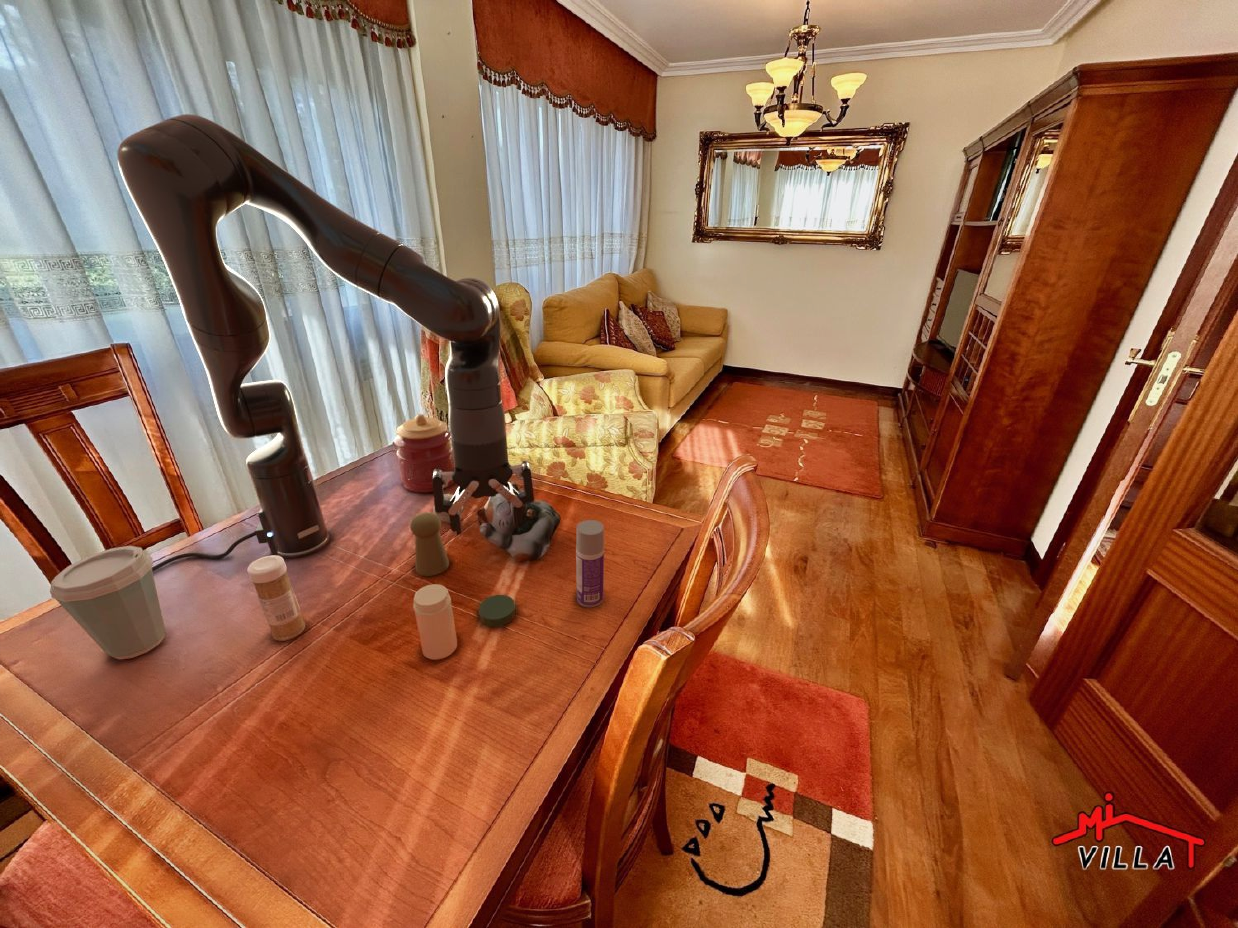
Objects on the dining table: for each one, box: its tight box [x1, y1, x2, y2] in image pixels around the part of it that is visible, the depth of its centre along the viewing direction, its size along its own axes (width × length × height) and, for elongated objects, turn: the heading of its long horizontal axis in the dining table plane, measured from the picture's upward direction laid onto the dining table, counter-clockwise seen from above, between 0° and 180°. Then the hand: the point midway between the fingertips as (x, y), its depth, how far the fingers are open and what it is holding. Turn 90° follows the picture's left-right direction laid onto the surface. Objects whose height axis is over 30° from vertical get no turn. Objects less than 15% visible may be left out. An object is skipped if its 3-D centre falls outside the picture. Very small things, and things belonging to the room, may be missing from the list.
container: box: [575, 519, 605, 608], centre depth 85 cm, size 5×5×15 cm
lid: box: [478, 594, 517, 628], centre depth 84 cm, size 6×6×2 cm
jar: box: [412, 583, 458, 661], centre depth 75 cm, size 5×5×10 cm
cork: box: [409, 511, 450, 577], centre depth 93 cm, size 6×6×11 cm
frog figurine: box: [432, 493, 464, 524], centre depth 107 cm, size 6×7×7 cm
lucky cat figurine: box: [475, 481, 562, 562], centre depth 100 cm, size 15×12×14 cm
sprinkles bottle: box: [247, 554, 306, 642], centre depth 76 cm, size 5×5×14 cm
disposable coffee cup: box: [49, 545, 166, 660], centre depth 73 cm, size 11×11×15 cm
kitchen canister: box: [393, 413, 455, 494], centre depth 120 cm, size 13×13×18 cm
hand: (488, 528), depth 77 cm, fingers open, 8 cm apart
